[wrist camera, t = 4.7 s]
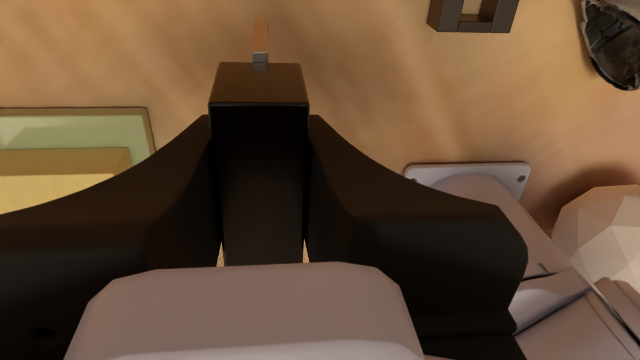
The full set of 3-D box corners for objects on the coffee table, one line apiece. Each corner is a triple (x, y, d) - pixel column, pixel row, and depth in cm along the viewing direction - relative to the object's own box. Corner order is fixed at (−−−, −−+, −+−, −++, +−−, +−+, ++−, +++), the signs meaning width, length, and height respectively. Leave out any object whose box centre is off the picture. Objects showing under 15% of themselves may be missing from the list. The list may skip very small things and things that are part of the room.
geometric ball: (510, 262, 30) (618, 346, 27) (549, 231, 23) (703, 340, 20) (571, 189, 31) (680, 260, 28) (626, 137, 24) (781, 226, 21)
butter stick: (141, 201, 23) (129, 231, 21) (25, 205, 22) (1, 236, 20) (128, 146, 21) (113, 173, 19) (0, 149, 20) (-29, 176, 18)
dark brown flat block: (290, 166, 16) (302, 285, 11) (237, 167, 16) (226, 289, 11) (292, 18, 13) (310, 91, 8) (228, 16, 13) (205, 90, 8)
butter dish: (168, 214, 25) (165, 225, 24) (-69, 222, 23) (-81, 234, 23) (146, 106, 21) (141, 115, 20) (-140, 108, 19) (-158, 117, 19)
